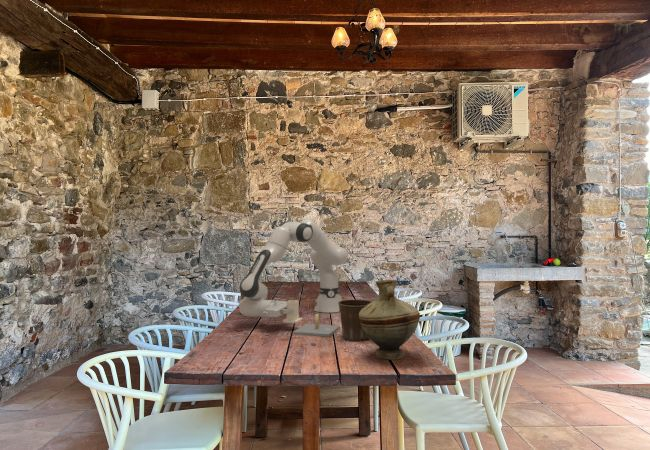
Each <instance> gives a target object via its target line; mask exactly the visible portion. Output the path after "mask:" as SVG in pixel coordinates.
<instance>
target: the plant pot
mask: <svg viewBox="0 0 650 450" xmlns="http://www.w3.org/2000/svg"><path fill="white" fill-rule="evenodd" d="M371 302H373V301H372V300H368V299H367V300H366V299H343V300H342V301H340V302H338V304H339V310H340V311H339V313H340V321H341V322H340V323H341V331H342V338H343V339H344V340H348V341H351V342H354V341H355V342H356V341H357V342H359V341H362V340H363V341H365V340H368V339H370V338H369V337H368V336H367V334H366V333H365V332H364V330H363V328H362V326H361V323H360V320H359V312H360V311H361V310H362V309H363V308H364V307H365V306H367V305H368V304H370V303H371Z"/></svg>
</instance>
